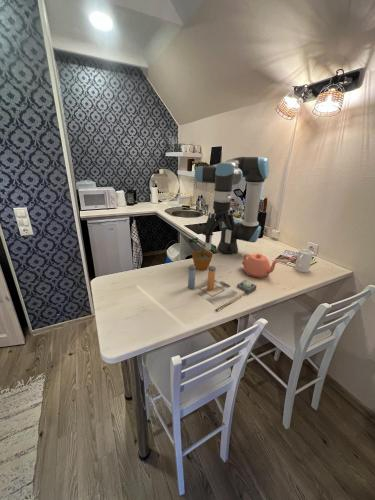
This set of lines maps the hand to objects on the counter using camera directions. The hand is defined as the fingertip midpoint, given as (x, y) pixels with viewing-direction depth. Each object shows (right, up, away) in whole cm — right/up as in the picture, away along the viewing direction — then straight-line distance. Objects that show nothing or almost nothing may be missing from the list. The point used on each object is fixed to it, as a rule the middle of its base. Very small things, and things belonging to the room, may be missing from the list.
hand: (218, 245), depth 105 cm
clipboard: (-2, -24, +8) cm, 25 cm away
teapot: (+28, -16, +28) cm, 42 cm away
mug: (+56, -15, +34) cm, 67 cm away
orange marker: (-3, -22, +9) cm, 24 cm away
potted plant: (-6, -14, +31) cm, 34 cm away
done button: (+16, -22, +11) cm, 30 cm away
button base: (+16, -23, +11) cm, 30 cm away
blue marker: (-13, -21, +9) cm, 26 cm away
